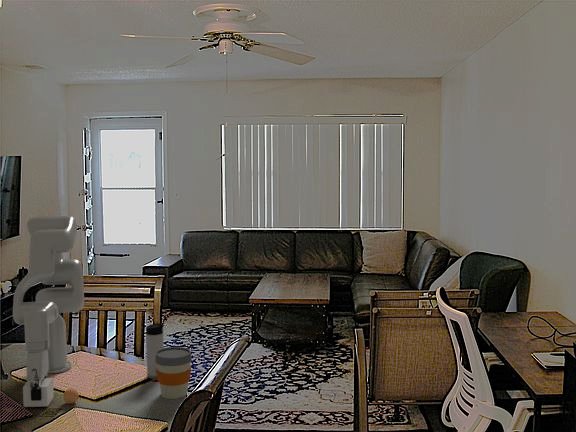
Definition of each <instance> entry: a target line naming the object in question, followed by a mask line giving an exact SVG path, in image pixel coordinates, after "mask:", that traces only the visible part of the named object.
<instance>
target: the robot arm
mask: <svg viewBox="0 0 576 432" xmlns="http://www.w3.org/2000/svg"><path fill="white" fill-rule="evenodd" d="M26 225H27V226H26V227H27V228H26V229H27V231H28V233H29V235H30V239H29V254H28V255H29V256H28V259H29V260H28V272H27V274H26V275H25V276H24V277H23V278H22V279H21V280H20V281H19V283H18V284H17V286H16V289H15V290H14V294H13V299H12V300H13V303H12V304H13V305H12V318H13V321H14V323H15V324H17V325H24V326H23V327H24V341H25V342H24V344H25V352H27V353H26V382H27V381H30V386H31V387H30V389H31V400H32V401H40V400H41V399H42V398H41V388H40V382H41V380H42V379H43V378H49V375H48V374H58V373H59V374H60V373H63V372H66V371H68V370H70V369H71V368H72V362H70V361H69V360H68V353H67V352H68V350H67V349H68V348H67V347H68V346H67V345H68V344H67V327H66V321H65V319H64V318H63V317H62V315H61V314H62V313H75V312H77V313H78V312H81V311H82V310H83V308H84V305H85V292H84V287H85V286H84V268H83V265H82V263H81V260H78V259H76V258H63V255H62V254H63V253H64V254H65V253H70V252H71V251H72V250H73V248H74V246H75V240H76V236H77V230H78V225H77V221H76V218H75V217H74V216H70V215H41V216H40V215H39V216H34V217H30V218H29V219H28V220H27V223H26ZM38 283H42V284H43V285H46V286H47V285H48V286H49V285H50V286H51V285H52V286H54V285H57V286H58V285H70V286H68V287H67V286H65V287H61V286H60V287H47V288H42V289H40V290H39V291H38V292H37V293H36V294H35V301H28V302H27V301H25V302H24V296H25V293H26V292H27V291H28V290H29V289H30V288H31V287H32V286H34V285H36V284H38ZM60 313H61V314H60ZM36 378H39V379H36ZM35 382H38V385H37V383H35Z"/></svg>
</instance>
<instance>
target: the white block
mask: <svg viewBox="0 0 576 432" xmlns="http://www.w3.org/2000/svg"><path fill="white" fill-rule="evenodd" d="M36 379H39V378H36ZM35 383H37V385H38V382H35ZM30 387H31V386H30V381H27V380H26V383H25V384H24V385H23V386H22V396H23V398H22V399H23V408H27V407H28V408H29V407H30V408H31V407H32V408H35V407H48V406H49V405H50V404H51V401H52V400H53V399H54V378H53V377H48V378H43V379H42V380H41V382H40V388H41V398H42V399H41V400H40V401H32V400H31V389H30Z"/></svg>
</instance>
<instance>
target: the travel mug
mask: <svg viewBox="0 0 576 432" xmlns="http://www.w3.org/2000/svg"><path fill="white" fill-rule="evenodd" d="M164 327H165V324H164V323H153V324H149V325H148V326H146V327H145V328H146V330H145V332H146V333H145V335H146V336H145V339H146V342H145V343H146V377H147V376H148V377H147V378H149V379H152V380H158V378H157V372H156V368H157V364H156V362H155V358H156V352H157V351H158V350H160V349H163V348H165V346H164V343H165V342H164Z"/></svg>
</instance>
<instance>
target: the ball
mask: <svg viewBox="0 0 576 432" xmlns="http://www.w3.org/2000/svg"><path fill="white" fill-rule="evenodd" d="M62 395H63V396H62V398H63V401H64V402H65V404H68V405H71V404H74V403H76V402H78V400H79V398H80V396H79V395H80V393H79V391H78V390H77V389H76V388H68V389H66V390H65V391H64V392H63V394H62Z"/></svg>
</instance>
